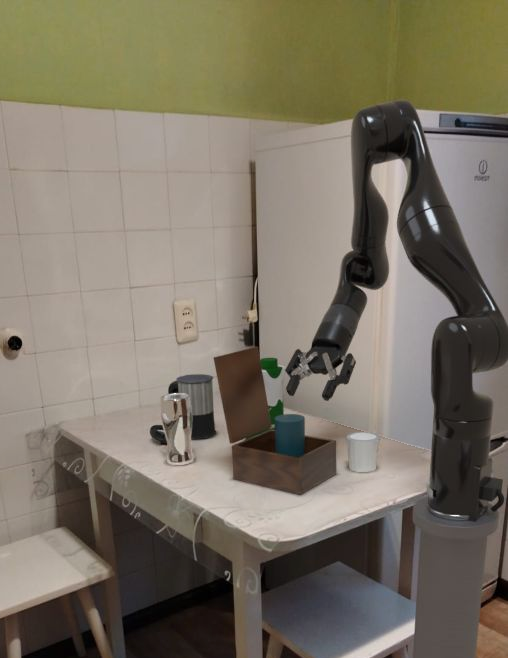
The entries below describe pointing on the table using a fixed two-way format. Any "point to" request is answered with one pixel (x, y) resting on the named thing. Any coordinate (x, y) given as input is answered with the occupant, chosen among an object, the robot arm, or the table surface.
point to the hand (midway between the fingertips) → (306, 396)
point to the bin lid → (242, 393)
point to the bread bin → (283, 463)
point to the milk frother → (193, 405)
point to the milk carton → (273, 388)
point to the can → (290, 435)
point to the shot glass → (362, 451)
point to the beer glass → (177, 427)
